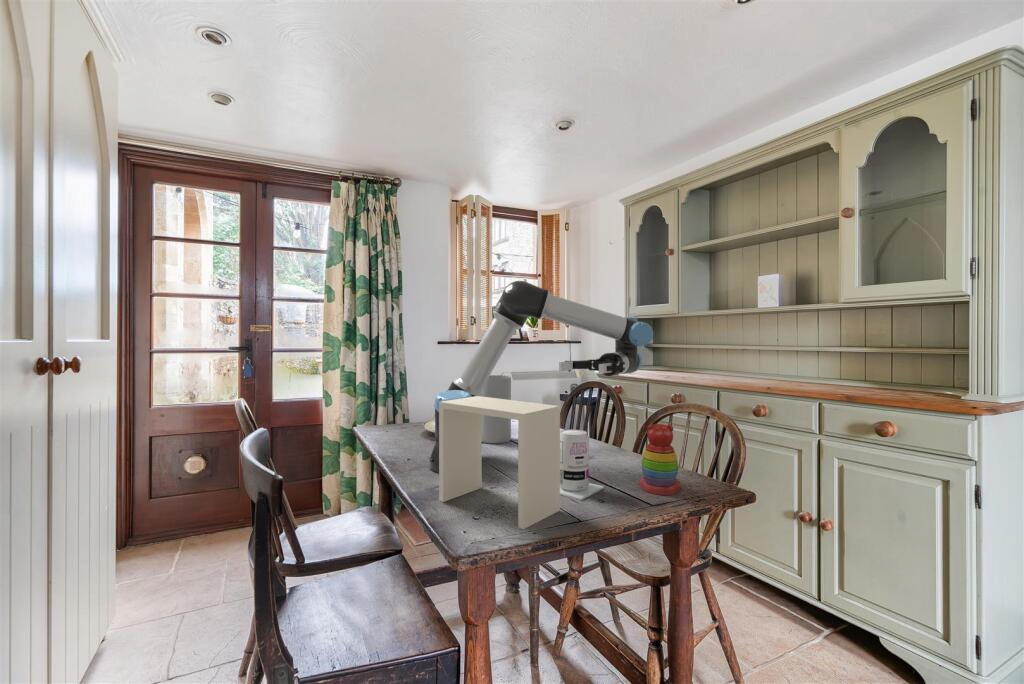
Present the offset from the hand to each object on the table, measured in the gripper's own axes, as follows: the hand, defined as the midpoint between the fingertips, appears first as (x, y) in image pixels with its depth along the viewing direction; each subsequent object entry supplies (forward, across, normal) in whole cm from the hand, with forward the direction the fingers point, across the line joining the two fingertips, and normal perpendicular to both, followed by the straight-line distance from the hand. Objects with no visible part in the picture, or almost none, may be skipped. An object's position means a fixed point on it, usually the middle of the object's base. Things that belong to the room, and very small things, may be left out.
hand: (579, 367), depth 139 cm
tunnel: (+34, +2, -32) cm, 47 cm away
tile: (+12, -6, -32) cm, 35 cm away
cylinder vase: (-18, +49, -32) cm, 61 cm away
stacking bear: (-3, -23, -32) cm, 40 cm away
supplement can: (+12, -5, -32) cm, 34 cm away
